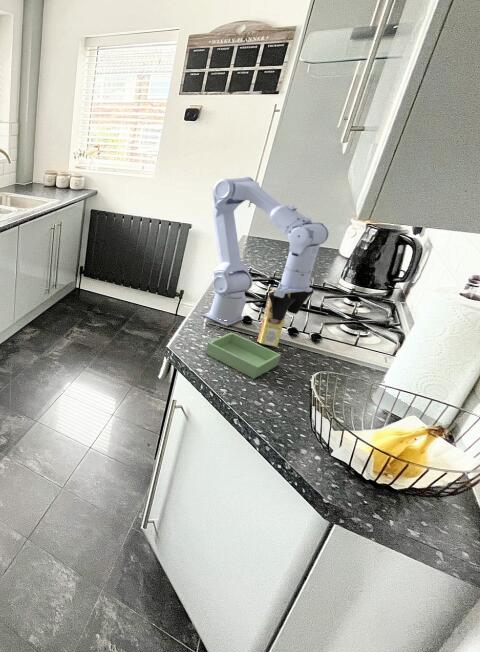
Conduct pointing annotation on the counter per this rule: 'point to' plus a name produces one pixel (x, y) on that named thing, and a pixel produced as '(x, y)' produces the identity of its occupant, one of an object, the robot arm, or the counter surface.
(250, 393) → the counter surface
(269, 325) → the candy box
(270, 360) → the tray
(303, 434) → the counter surface
